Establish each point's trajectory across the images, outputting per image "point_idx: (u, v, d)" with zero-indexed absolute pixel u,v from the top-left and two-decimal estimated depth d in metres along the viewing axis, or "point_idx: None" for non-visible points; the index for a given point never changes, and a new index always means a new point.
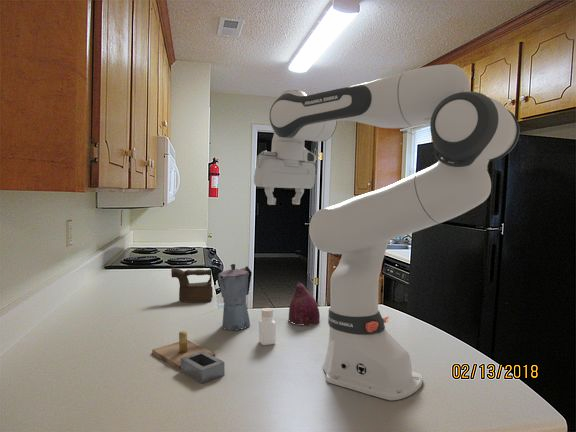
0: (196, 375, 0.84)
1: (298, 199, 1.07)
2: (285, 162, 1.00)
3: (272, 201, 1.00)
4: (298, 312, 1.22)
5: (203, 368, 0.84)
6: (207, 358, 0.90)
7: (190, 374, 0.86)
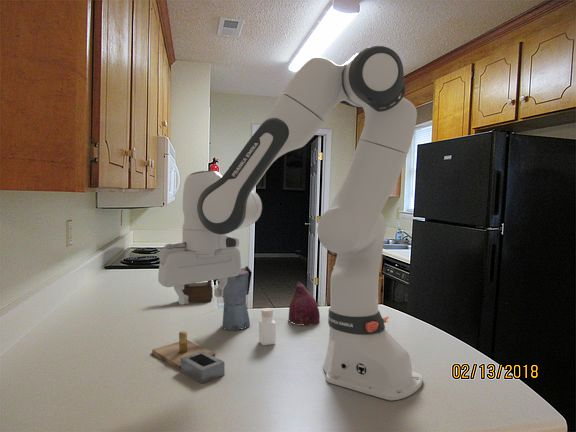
0: (196, 375, 0.84)
1: (220, 290, 0.92)
2: (197, 253, 0.85)
3: (183, 300, 0.85)
4: (298, 312, 1.22)
5: (203, 368, 0.84)
6: (207, 358, 0.90)
7: (190, 374, 0.86)
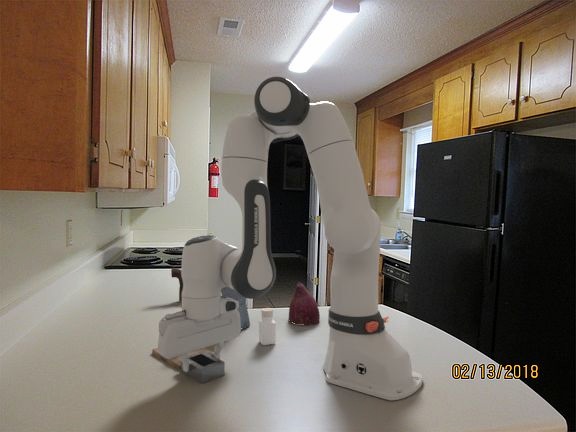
0: (196, 375, 0.84)
1: (217, 355, 0.90)
2: (196, 321, 0.85)
3: (187, 368, 0.85)
4: (298, 312, 1.22)
5: (203, 368, 0.84)
6: (207, 358, 0.90)
7: (190, 374, 0.86)
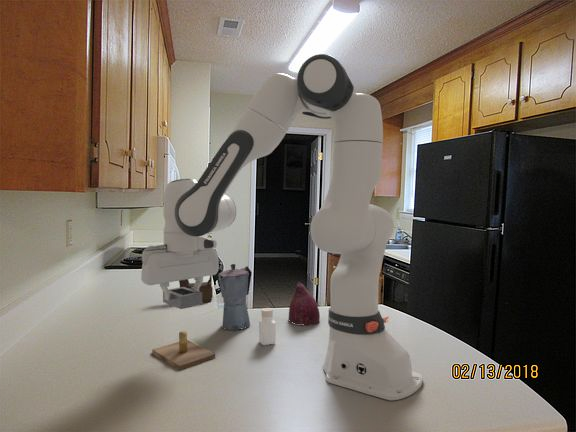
0: (176, 302, 0.93)
1: (196, 289, 0.99)
2: (177, 254, 0.94)
3: (168, 296, 0.94)
4: (298, 312, 1.22)
5: (182, 296, 0.93)
6: (187, 291, 0.99)
7: (171, 303, 0.95)
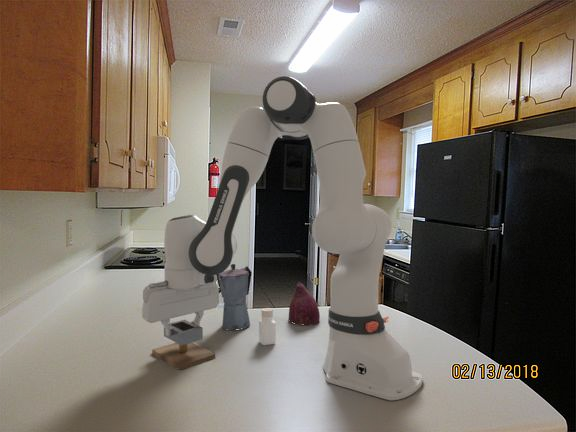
0: (176, 338, 0.94)
1: (197, 323, 1.00)
2: (177, 290, 0.94)
3: (169, 332, 0.94)
4: (298, 312, 1.22)
5: (183, 332, 0.94)
6: (187, 325, 1.00)
7: (171, 338, 0.96)
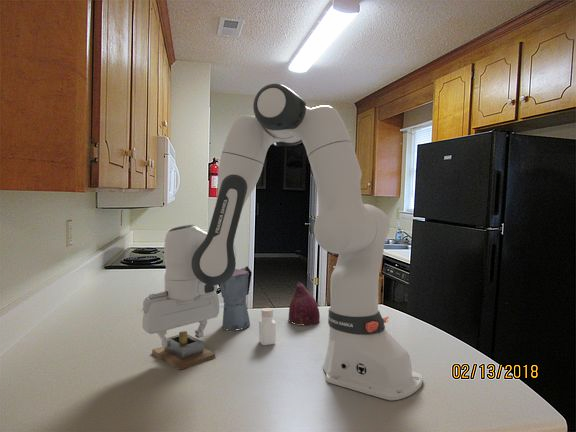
0: (177, 353, 0.94)
1: (200, 332, 1.00)
2: (177, 301, 0.94)
3: (166, 344, 0.94)
4: (298, 312, 1.22)
5: (183, 346, 0.93)
6: (188, 339, 1.00)
7: (172, 352, 0.96)
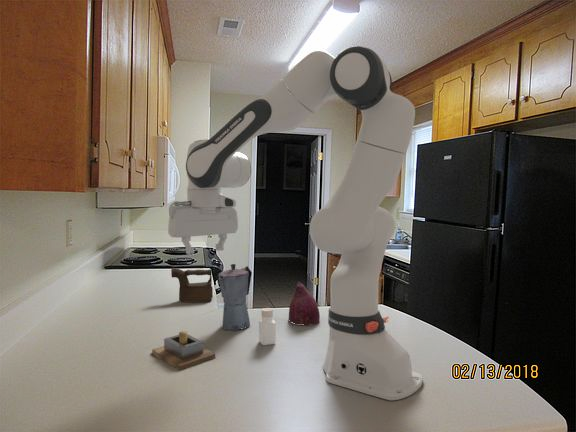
0: (177, 353, 0.94)
1: (221, 245, 1.06)
2: (200, 210, 1.00)
3: (190, 250, 0.99)
4: (298, 312, 1.22)
5: (183, 346, 0.93)
6: (188, 339, 1.00)
7: (172, 352, 0.96)
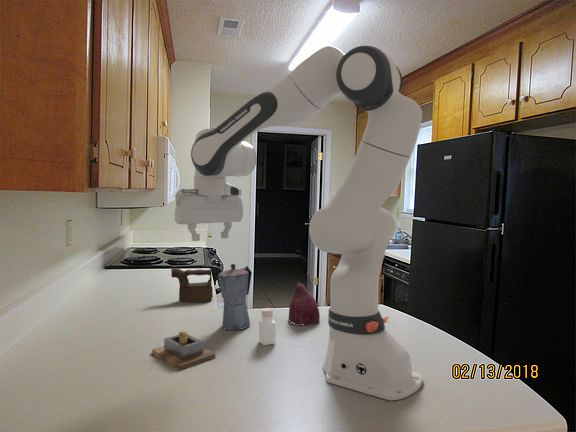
0: (177, 353, 0.94)
1: (226, 233, 1.08)
2: (206, 198, 1.02)
3: (195, 237, 1.01)
4: (298, 312, 1.22)
5: (183, 346, 0.93)
6: (188, 339, 1.00)
7: (172, 352, 0.96)
